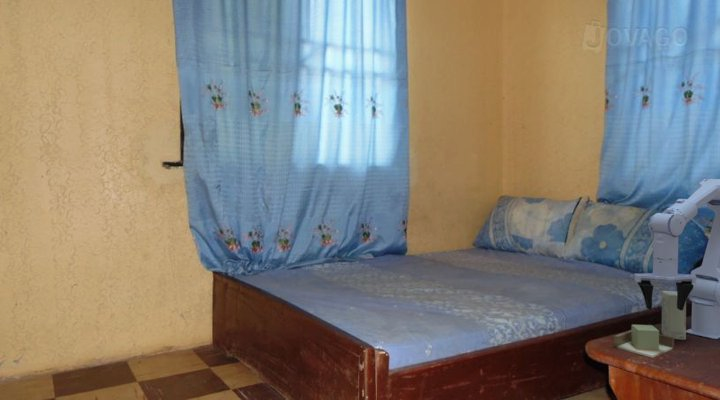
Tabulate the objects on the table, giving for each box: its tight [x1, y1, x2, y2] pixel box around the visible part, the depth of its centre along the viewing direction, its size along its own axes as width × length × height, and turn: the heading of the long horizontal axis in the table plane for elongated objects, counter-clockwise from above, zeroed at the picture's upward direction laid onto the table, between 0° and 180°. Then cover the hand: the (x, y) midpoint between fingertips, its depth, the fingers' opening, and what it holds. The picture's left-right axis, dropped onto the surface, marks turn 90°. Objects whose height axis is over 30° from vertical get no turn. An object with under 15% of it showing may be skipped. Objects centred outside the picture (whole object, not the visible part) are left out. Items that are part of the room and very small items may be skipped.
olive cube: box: [630, 324, 660, 350], centre depth 140 cm, size 5×5×5 cm
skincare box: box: [661, 290, 687, 341], centre depth 149 cm, size 6×4×12 cm
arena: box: [613, 329, 675, 358], centre depth 140 cm, size 11×10×3 cm
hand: (664, 309), depth 143 cm, fingers open, 7 cm apart
